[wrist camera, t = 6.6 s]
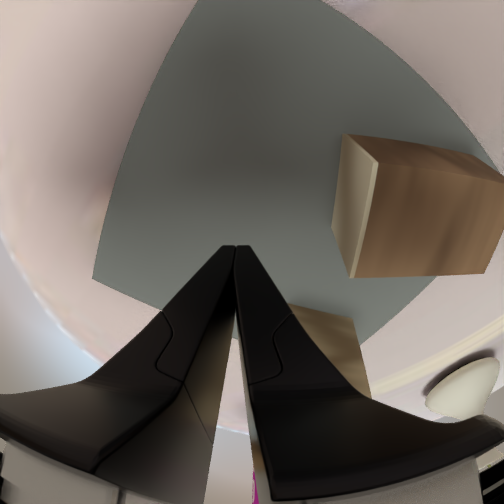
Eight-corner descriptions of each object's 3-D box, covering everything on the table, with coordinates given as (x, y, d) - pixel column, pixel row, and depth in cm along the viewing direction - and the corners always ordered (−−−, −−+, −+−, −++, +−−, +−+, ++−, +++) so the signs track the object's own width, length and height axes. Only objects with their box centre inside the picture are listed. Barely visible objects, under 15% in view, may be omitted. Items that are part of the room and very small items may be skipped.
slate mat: (504, 185, 13) (509, 189, 13) (328, 362, 24) (329, 368, 23) (229, -38, 8) (228, -42, 7) (95, 272, 18) (92, 278, 18)
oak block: (352, 318, 19) (373, 409, 14) (318, 356, 22) (328, 437, 16) (287, 303, 18) (295, 404, 13) (259, 346, 21) (258, 433, 15)
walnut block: (342, 133, 12) (472, 155, 12) (331, 227, 15) (451, 231, 15) (373, 162, 9) (518, 187, 9) (349, 278, 12) (483, 273, 11)
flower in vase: (461, 391, 31) (492, 528, 11) (406, 402, 31) (431, 563, 11) (515, 336, 24) (566, 496, 4) (464, 343, 23) (515, 549, 3)
